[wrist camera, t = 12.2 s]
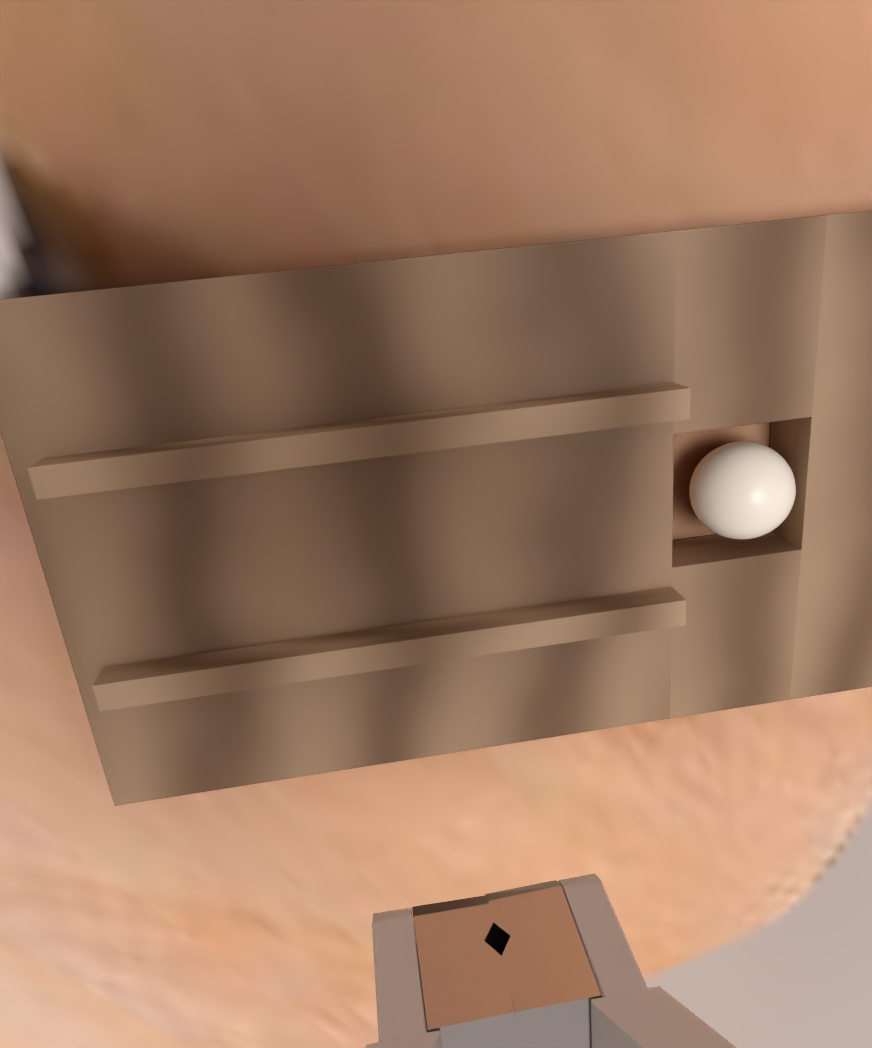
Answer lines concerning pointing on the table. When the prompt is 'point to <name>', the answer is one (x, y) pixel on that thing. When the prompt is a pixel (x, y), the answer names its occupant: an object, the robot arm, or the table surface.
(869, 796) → the table surface
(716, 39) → the table surface
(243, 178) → the table surface
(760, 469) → the ball
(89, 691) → the board
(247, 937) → the table surface
